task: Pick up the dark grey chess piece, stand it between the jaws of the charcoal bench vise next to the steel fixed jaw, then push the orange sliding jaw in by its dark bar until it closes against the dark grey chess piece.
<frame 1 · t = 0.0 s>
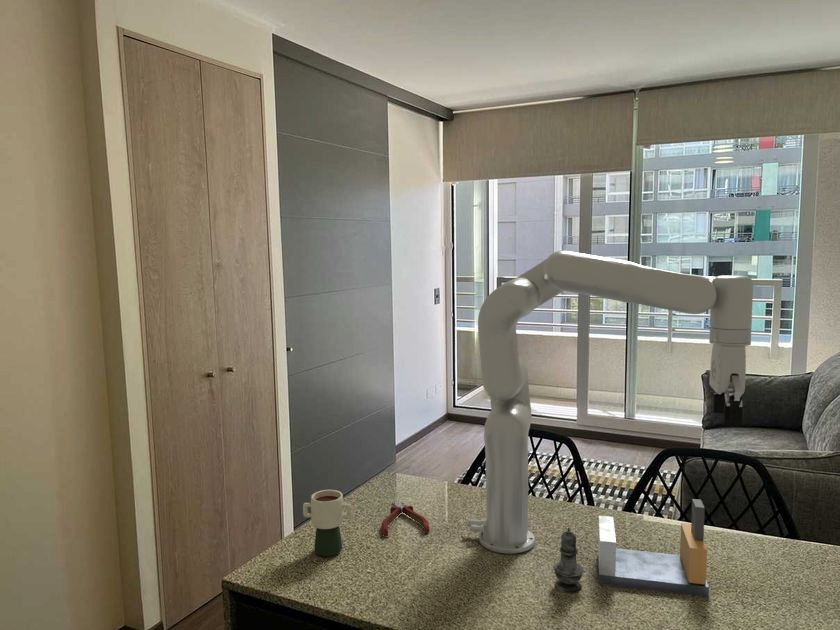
hand: (726, 419, 126), 31 cm above the counter, tool pointing down, fingers open, 9 cm apart
pliers: (408, 522, 153), on the counter
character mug: (328, 552, 137), on the counter
sliding jaw: (693, 536, 122), point 9 cm above the counter, slide at 0.0 cm
vise: (649, 574, 125), on the counter
dark grey chess piece: (568, 586, 122), on the counter
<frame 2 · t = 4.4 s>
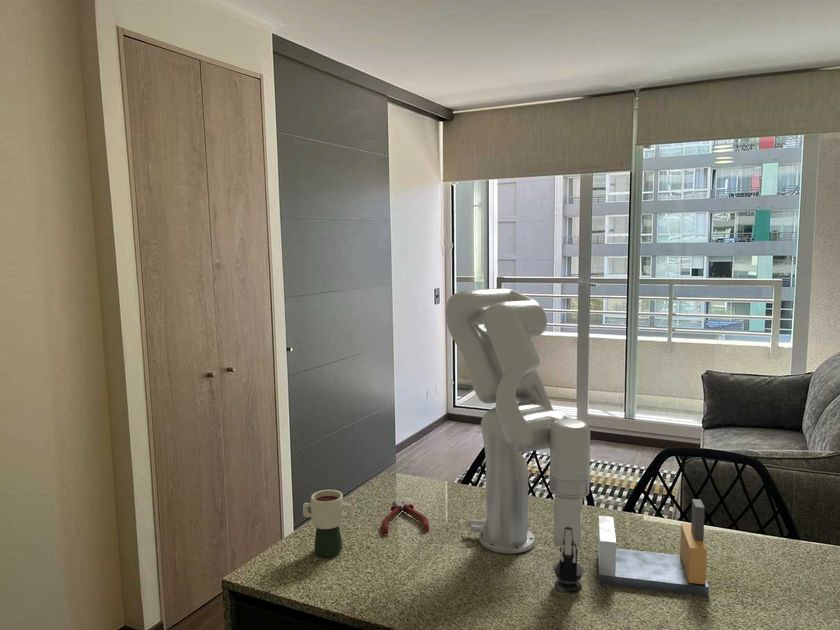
hand: (568, 570, 121), 3 cm above the counter, tool pointing down, fingers closed on dark grey chess piece, 5 cm apart
dark grey chess piece: (568, 586, 122), on the counter, touching gripper
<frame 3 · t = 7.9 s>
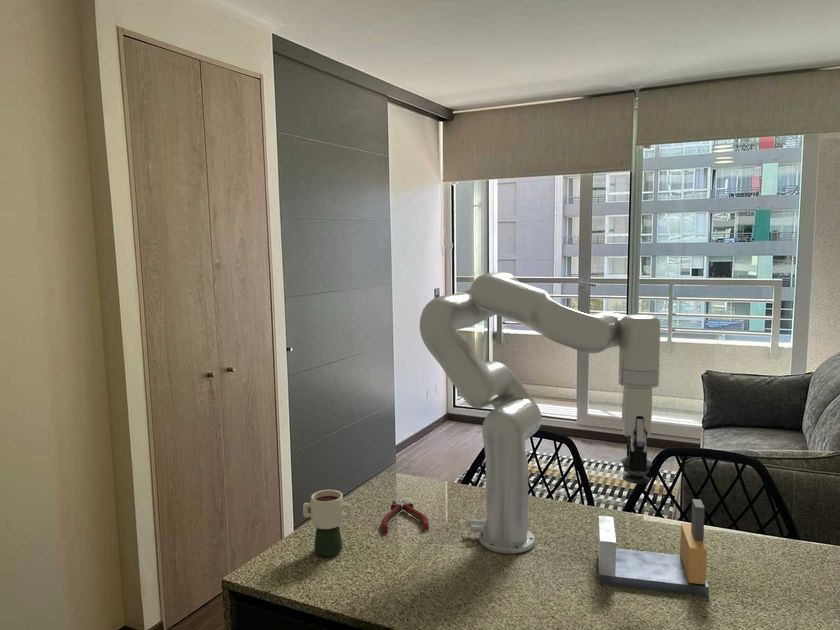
hand: (636, 464, 124), 23 cm above the counter, tool pointing down, fingers closed on dark grey chess piece, 5 cm apart
dark grey chess piece: (636, 480, 124), point 20 cm above the counter, touching gripper
when the fingers open (7 cm above the counter, at t = 11.3 s): dark grey chess piece drops 1 cm, resting on vise.
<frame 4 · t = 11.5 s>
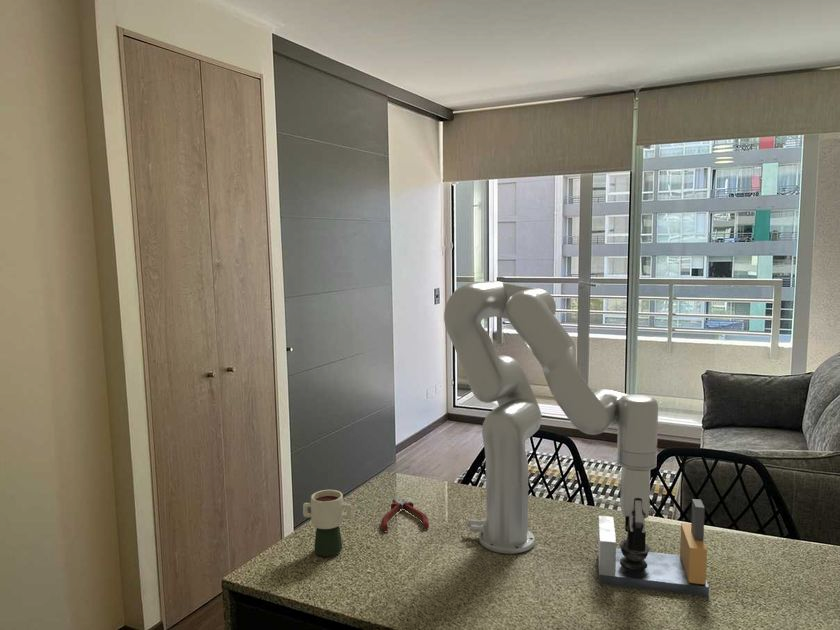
hand: (634, 540, 125), 7 cm above the counter, tool pointing down, fingers open, 7 cm apart
dark grey chess piece: (633, 564, 126), point 2 cm above the counter, touching vise
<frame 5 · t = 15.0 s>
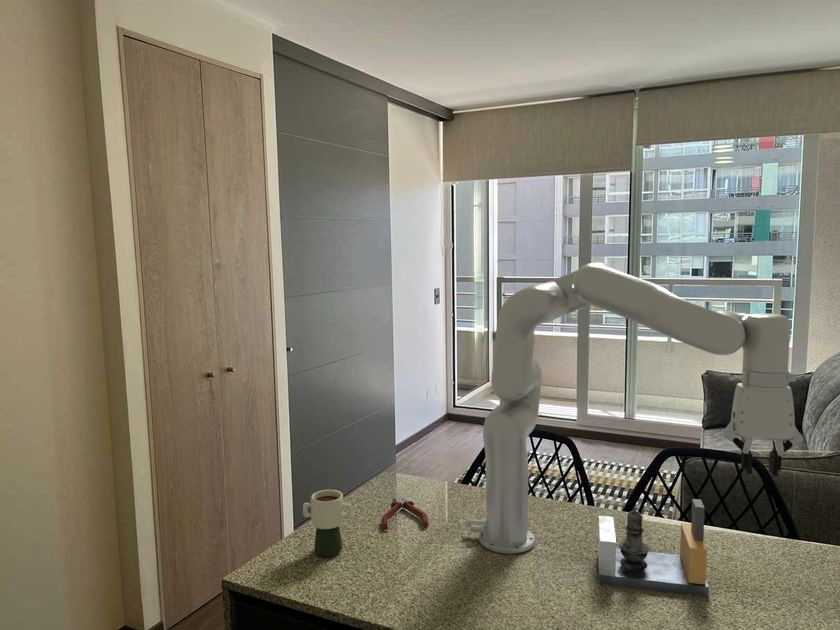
hand: (760, 471, 118), 23 cm above the counter, tool pointing down, fingers open, 3 cm apart
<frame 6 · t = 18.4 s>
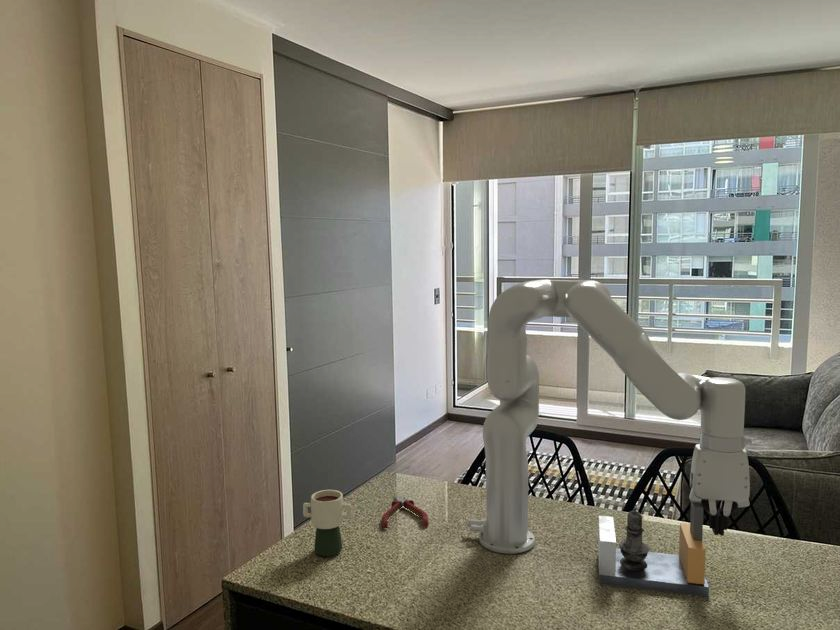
hand: (717, 532, 121), 10 cm above the counter, tool pointing down, fingers closed
sliding jaw: (692, 536, 122), point 9 cm above the counter, slide at 0.2 cm, touching gripper
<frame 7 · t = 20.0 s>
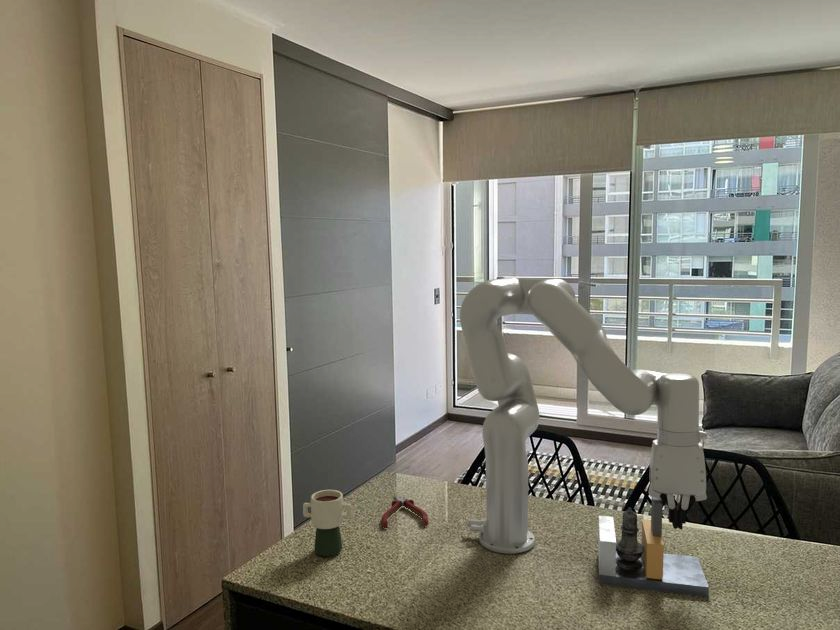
hand: (677, 526, 123), 11 cm above the counter, tool pointing down, fingers closed
sliding jaw: (652, 532, 124), point 9 cm above the counter, slide at 7.7 cm, touching gripper, dark grey chess piece
dark grey chess piece: (628, 564, 126), point 2 cm above the counter, touching sliding jaw, vise
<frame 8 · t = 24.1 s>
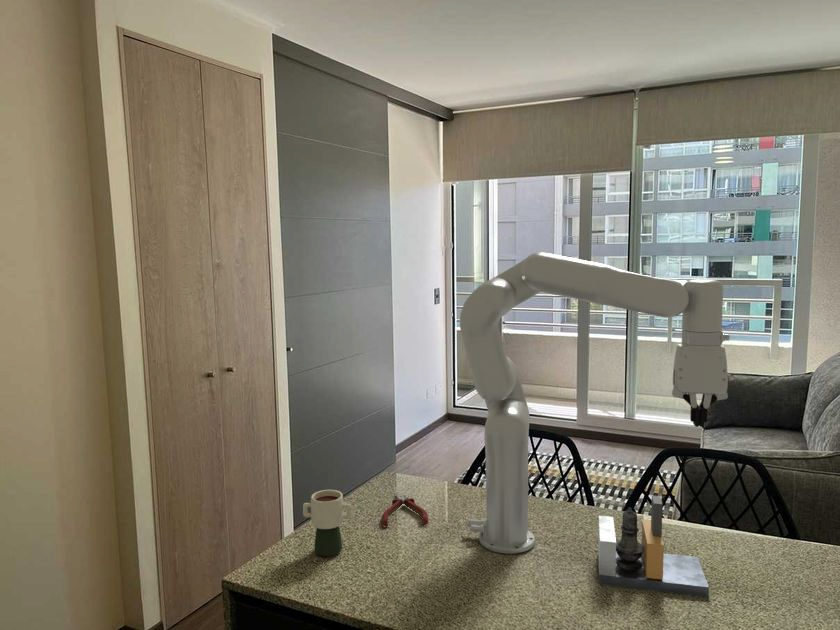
hand: (698, 425, 129), 29 cm above the counter, tool pointing down, fingers closed
sliding jaw: (652, 532, 124), point 9 cm above the counter, slide at 7.7 cm, touching dark grey chess piece
at the end: dark grey chess piece inside the target area (0.6 cm from its centre), point 1.8 cm above the counter; dark grey chess piece tilted 0°; sliding jaw slide at 7.7 cm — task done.
